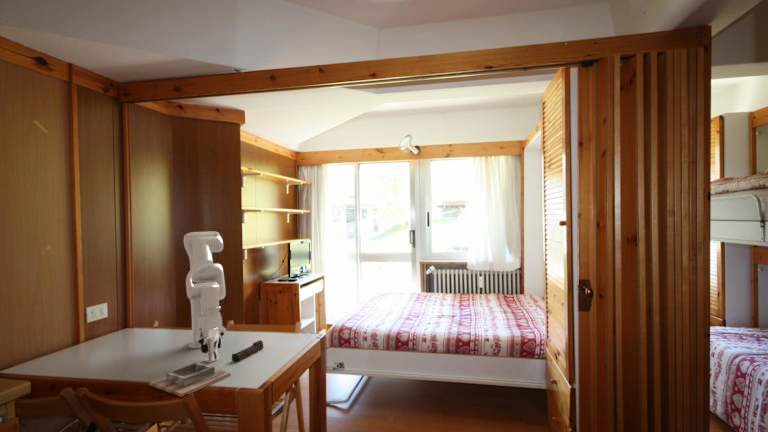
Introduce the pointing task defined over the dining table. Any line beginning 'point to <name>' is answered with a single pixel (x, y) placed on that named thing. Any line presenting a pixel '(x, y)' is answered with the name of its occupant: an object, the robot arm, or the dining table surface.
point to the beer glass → (212, 345)
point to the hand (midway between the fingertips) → (211, 349)
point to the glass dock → (189, 379)
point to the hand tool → (247, 351)
